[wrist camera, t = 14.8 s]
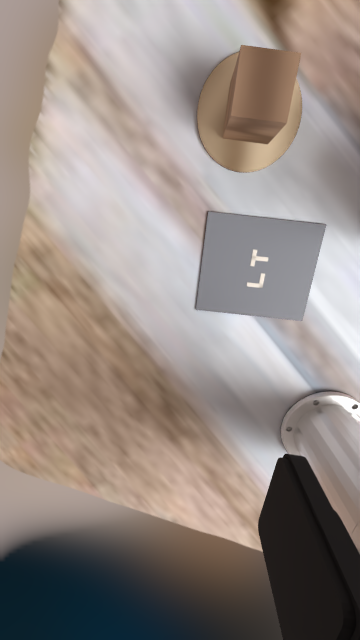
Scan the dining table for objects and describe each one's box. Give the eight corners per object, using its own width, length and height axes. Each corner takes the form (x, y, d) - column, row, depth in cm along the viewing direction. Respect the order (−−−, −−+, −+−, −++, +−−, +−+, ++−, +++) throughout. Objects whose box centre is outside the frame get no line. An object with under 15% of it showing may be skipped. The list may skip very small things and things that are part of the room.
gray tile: (325, 224, 33) (326, 224, 32) (301, 320, 36) (302, 321, 36) (208, 211, 32) (208, 211, 32) (195, 309, 36) (195, 309, 36)
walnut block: (278, 89, 28) (300, 53, 23) (267, 144, 30) (286, 123, 24) (230, 83, 28) (241, 44, 23) (222, 138, 30) (230, 115, 24)
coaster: (311, 58, 28) (313, 55, 28) (287, 177, 31) (289, 177, 31) (204, 45, 28) (204, 43, 27) (191, 166, 31) (191, 165, 31)
